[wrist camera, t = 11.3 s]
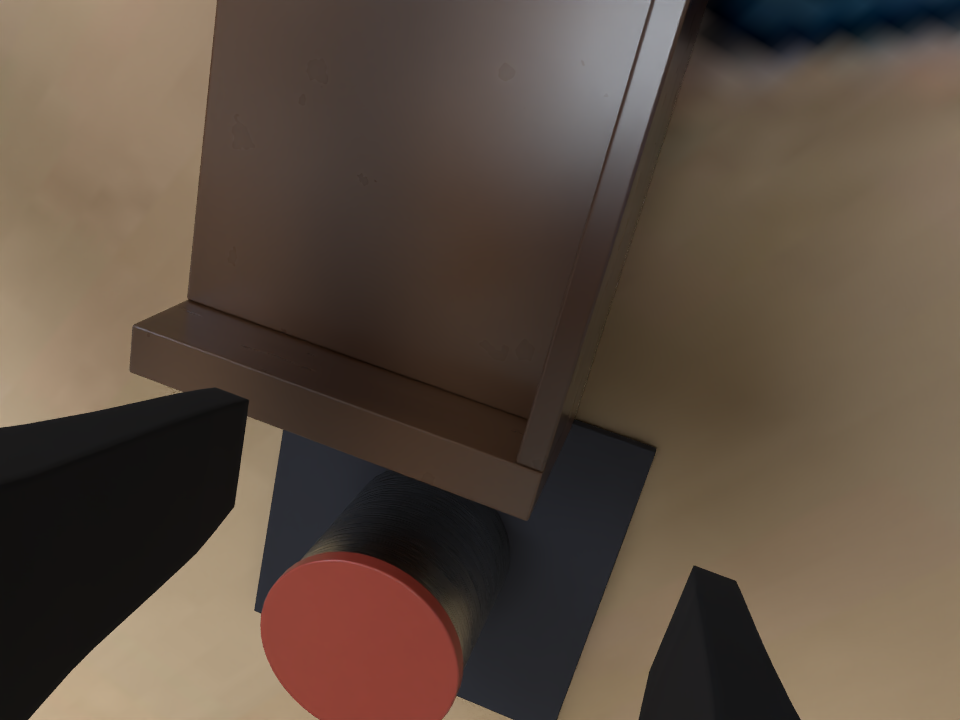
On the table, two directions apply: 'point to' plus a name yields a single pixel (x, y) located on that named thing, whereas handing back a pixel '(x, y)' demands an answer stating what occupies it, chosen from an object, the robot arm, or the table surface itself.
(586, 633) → the felt coaster
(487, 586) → the cylinder
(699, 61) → the table surface
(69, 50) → the table surface
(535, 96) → the desk shelf
